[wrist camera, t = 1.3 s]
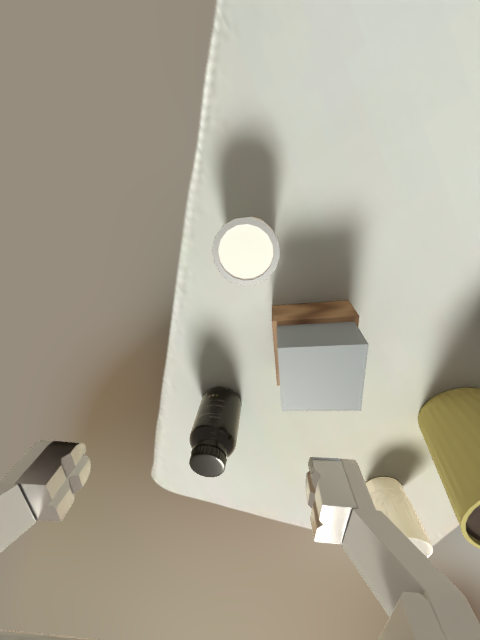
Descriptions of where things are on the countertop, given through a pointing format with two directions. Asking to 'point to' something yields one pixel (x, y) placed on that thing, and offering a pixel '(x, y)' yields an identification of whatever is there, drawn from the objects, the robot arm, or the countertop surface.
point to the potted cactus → (456, 452)
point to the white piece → (246, 251)
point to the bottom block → (310, 317)
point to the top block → (321, 366)
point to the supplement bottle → (214, 431)
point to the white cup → (399, 510)
